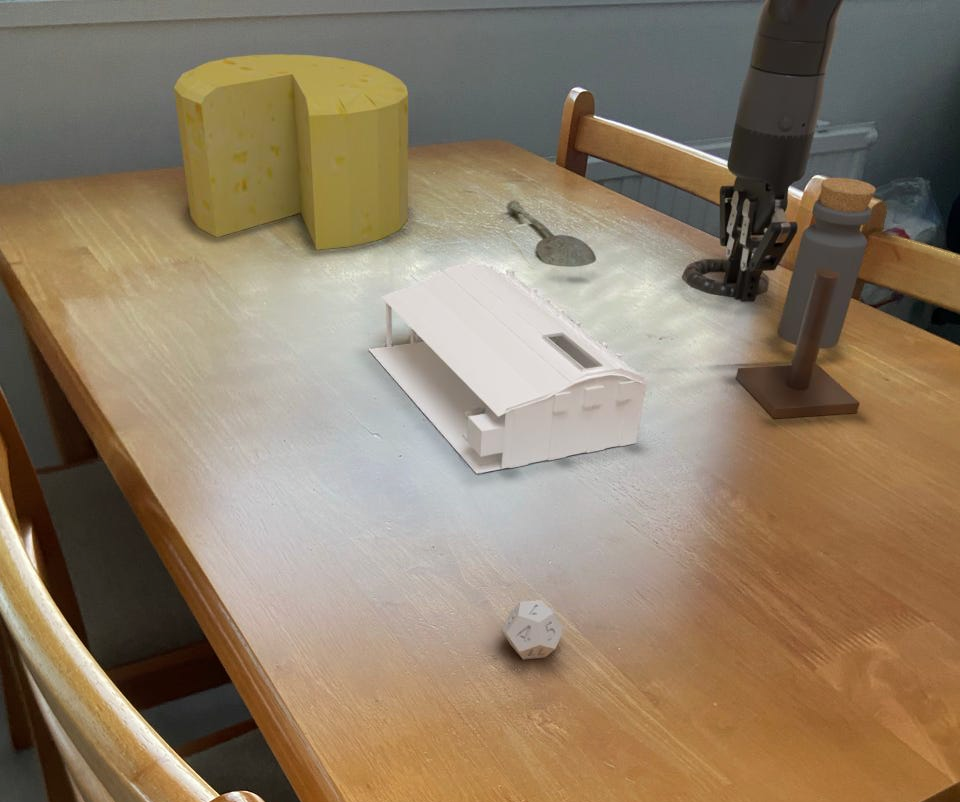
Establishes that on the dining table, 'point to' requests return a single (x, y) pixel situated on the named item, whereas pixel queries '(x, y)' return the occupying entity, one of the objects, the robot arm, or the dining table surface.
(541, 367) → the toy hangar
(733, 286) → the ring
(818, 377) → the peg stand
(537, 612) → the game die
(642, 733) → the dining table surface
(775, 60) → the robot arm
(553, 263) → the soupspoon
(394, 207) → the cheese
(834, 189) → the bottle
